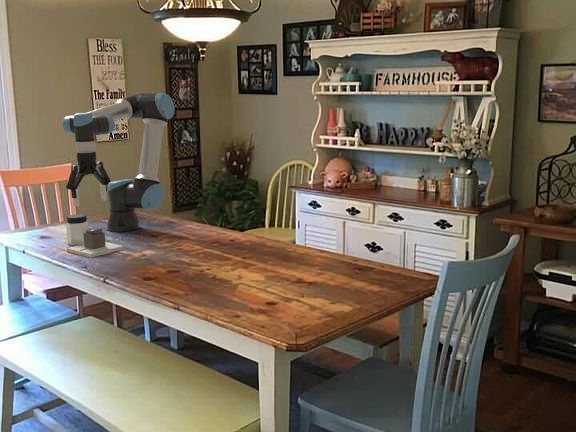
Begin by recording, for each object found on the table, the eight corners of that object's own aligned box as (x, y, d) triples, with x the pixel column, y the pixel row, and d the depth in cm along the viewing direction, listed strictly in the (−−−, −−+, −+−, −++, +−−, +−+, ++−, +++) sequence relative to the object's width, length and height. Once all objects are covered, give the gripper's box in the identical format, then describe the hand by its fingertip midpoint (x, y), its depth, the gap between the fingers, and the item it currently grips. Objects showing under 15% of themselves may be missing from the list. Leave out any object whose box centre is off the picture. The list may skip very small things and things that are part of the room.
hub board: (99, 243, 280) (98, 228, 279) (123, 249, 271) (122, 232, 269) (66, 251, 268) (65, 235, 266) (90, 257, 258) (89, 240, 257)
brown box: (106, 246, 270) (105, 227, 268) (93, 249, 265) (91, 230, 263) (96, 244, 274) (95, 226, 272) (83, 247, 269) (81, 228, 267)
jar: (91, 243, 282) (89, 216, 279) (73, 246, 277) (71, 218, 274) (83, 239, 289) (81, 213, 286) (65, 242, 284) (63, 215, 281)
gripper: (104, 147, 277) (108, 197, 281) (53, 154, 257) (59, 207, 262) (116, 148, 272) (120, 198, 277) (65, 155, 253) (70, 209, 257)
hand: (90, 203), depth 269 cm, fingers open, 13 cm apart
